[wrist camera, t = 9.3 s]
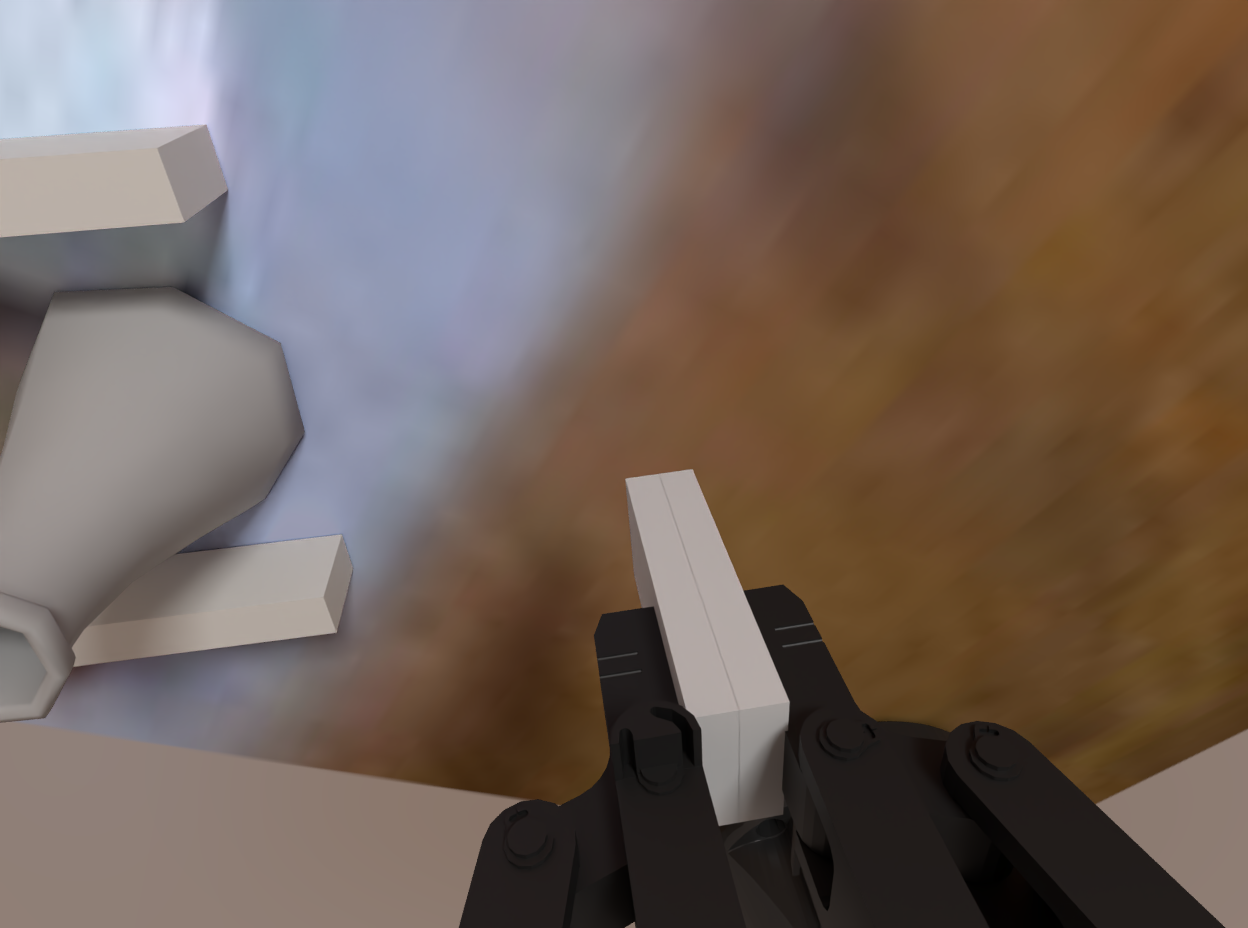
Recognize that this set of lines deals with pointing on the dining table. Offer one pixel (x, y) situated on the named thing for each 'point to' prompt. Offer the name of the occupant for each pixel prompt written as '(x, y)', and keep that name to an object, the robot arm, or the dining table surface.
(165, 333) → the flask
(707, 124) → the dining table surface
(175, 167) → the white u-shaped stand
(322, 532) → the dining table surface
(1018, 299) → the dining table surface
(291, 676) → the dining table surface
